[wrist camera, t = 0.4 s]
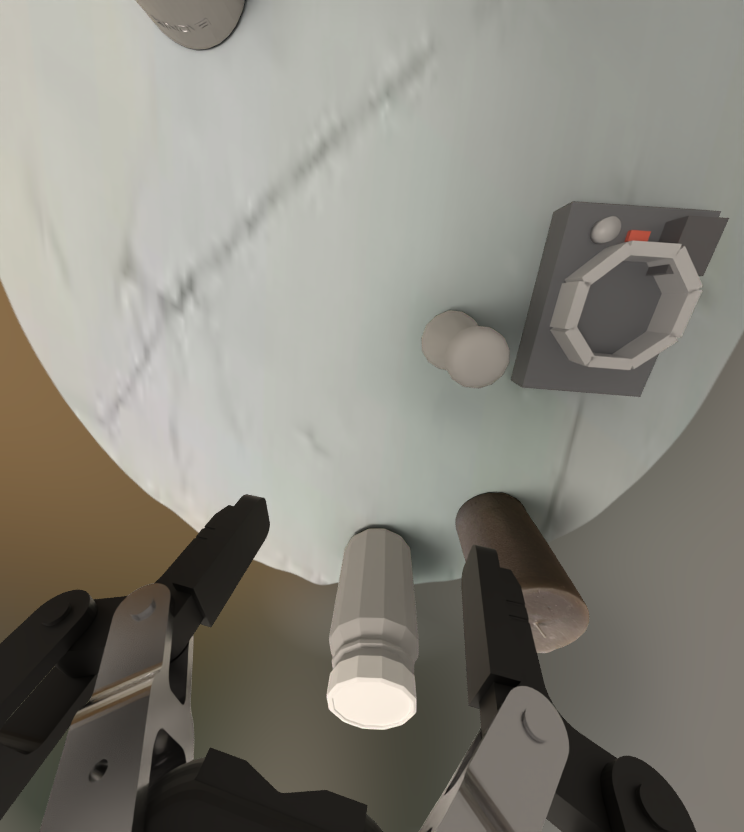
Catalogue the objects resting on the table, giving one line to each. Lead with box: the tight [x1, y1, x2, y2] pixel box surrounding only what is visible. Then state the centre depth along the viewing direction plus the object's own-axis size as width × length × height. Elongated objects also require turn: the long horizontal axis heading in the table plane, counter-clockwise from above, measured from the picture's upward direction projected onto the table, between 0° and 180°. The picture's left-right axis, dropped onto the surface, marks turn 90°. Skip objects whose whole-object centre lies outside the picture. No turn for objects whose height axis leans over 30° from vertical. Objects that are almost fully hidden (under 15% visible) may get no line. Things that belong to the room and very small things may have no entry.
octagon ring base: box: [511, 202, 729, 397], centre depth 27 cm, size 16×12×6 cm
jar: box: [327, 528, 419, 729], centre depth 34 cm, size 10×10×18 cm
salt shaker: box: [421, 310, 510, 388], centre depth 25 cm, size 6×6×13 cm
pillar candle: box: [456, 493, 589, 653], centre depth 33 cm, size 10×10×15 cm
